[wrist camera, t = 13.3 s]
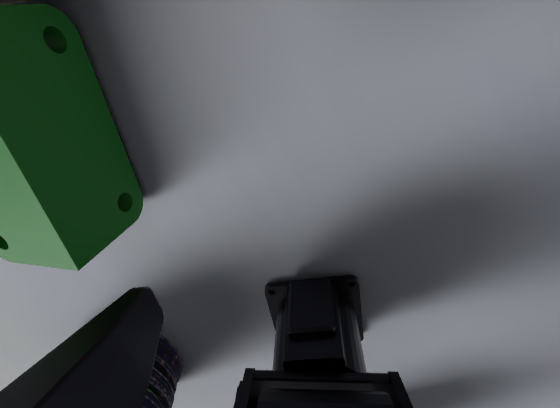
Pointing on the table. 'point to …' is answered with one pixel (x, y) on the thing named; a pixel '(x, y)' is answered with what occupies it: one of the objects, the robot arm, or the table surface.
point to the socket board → (9, 2)
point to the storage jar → (163, 376)
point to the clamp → (57, 146)
